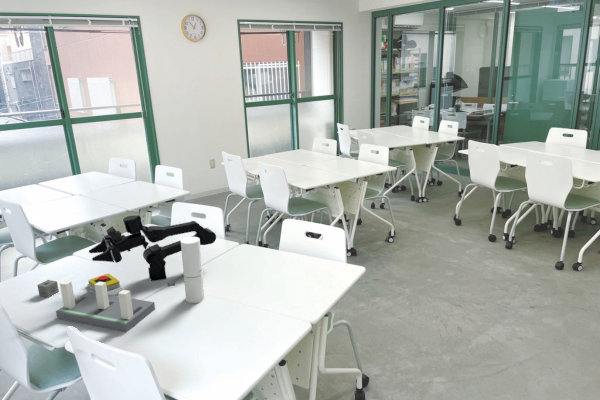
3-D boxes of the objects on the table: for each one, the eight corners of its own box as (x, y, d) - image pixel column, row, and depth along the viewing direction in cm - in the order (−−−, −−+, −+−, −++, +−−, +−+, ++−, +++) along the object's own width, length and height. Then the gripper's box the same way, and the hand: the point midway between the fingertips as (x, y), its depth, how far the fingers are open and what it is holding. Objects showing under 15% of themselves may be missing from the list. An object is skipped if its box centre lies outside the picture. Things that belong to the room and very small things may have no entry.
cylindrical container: (207, 295, 176) (203, 237, 169) (198, 304, 169) (193, 244, 163) (192, 293, 178) (187, 235, 171) (182, 301, 172) (176, 242, 165)
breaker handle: (103, 304, 163) (99, 281, 161) (109, 306, 162) (106, 282, 160) (98, 308, 161) (94, 284, 158) (104, 309, 160) (101, 285, 157)
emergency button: (107, 269, 192) (122, 279, 182) (108, 278, 193) (123, 289, 183) (85, 276, 186) (100, 287, 176) (86, 285, 187) (101, 297, 177)
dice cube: (39, 296, 178) (37, 285, 176) (50, 290, 182) (47, 279, 181) (48, 298, 176) (46, 286, 175) (59, 292, 180) (57, 281, 179)
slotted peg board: (89, 297, 175) (84, 268, 172) (155, 309, 166) (151, 278, 163) (57, 318, 161) (51, 286, 157) (127, 332, 152) (122, 298, 148)
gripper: (119, 218, 187) (81, 231, 180) (129, 231, 172) (87, 245, 165) (127, 241, 191) (89, 254, 184) (137, 255, 176) (96, 270, 169)
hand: (90, 255), depth 175 cm, fingers open, 9 cm apart
